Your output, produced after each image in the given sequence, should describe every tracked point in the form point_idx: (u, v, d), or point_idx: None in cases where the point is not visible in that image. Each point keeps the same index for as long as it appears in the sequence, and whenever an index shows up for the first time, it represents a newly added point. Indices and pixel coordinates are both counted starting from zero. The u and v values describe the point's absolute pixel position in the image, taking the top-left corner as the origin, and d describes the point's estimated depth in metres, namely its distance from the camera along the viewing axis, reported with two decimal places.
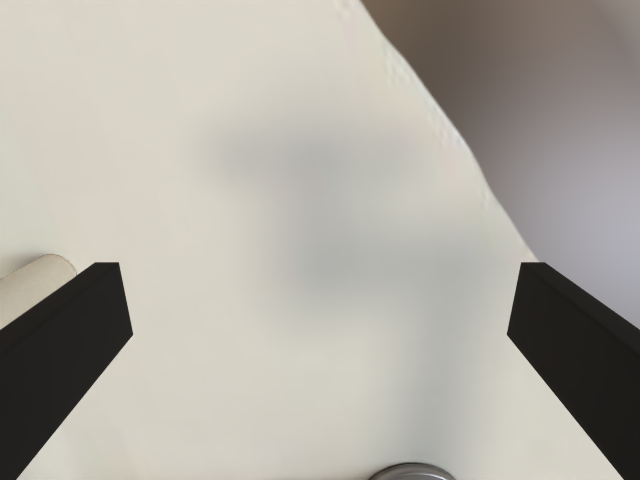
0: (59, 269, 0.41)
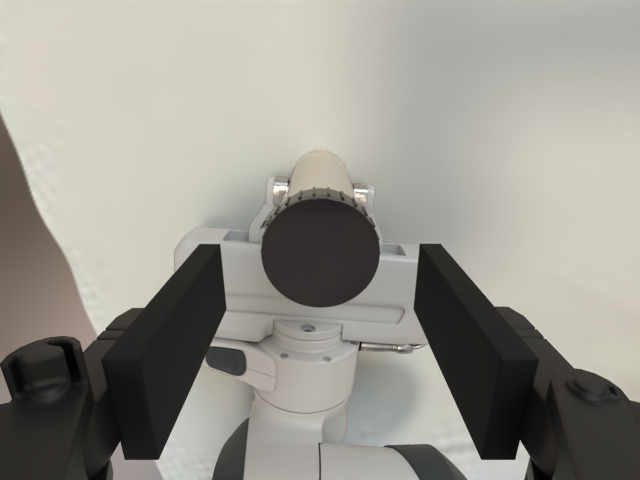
0: (317, 153, 0.30)
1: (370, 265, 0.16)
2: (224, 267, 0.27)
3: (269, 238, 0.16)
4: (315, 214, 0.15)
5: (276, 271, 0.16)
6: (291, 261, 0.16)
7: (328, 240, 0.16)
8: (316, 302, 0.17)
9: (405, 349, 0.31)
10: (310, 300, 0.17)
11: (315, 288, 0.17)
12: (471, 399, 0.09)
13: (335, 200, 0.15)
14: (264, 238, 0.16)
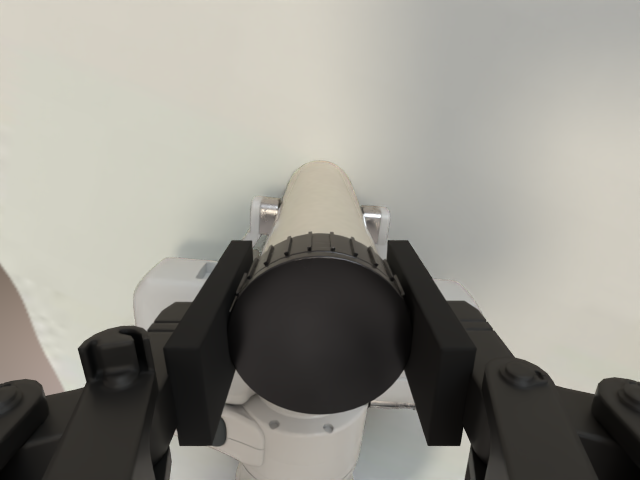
0: (317, 164, 0.25)
1: (397, 356, 0.10)
2: None
3: (239, 317, 0.10)
4: (311, 282, 0.10)
5: (251, 364, 0.10)
6: (275, 351, 0.10)
7: (332, 320, 0.10)
8: (313, 407, 0.11)
9: None
10: (304, 404, 0.11)
11: (312, 388, 0.11)
12: (421, 389, 0.09)
13: (344, 260, 0.09)
14: (231, 317, 0.10)
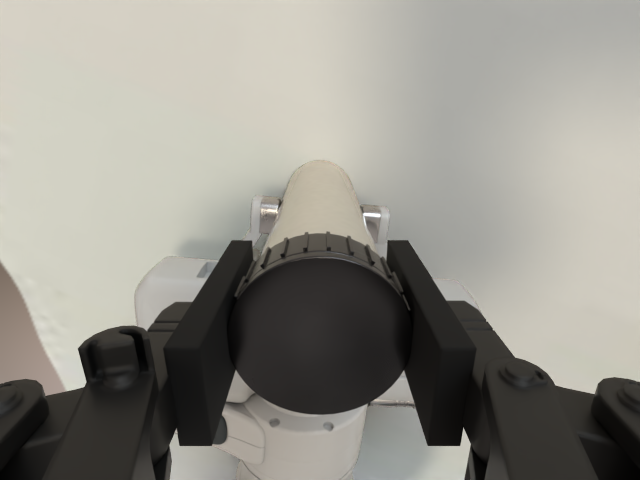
0: (317, 164, 0.25)
1: (302, 270, 0.09)
2: None
3: (324, 408, 0.11)
4: (262, 370, 0.11)
5: (370, 386, 0.11)
6: (346, 373, 0.11)
7: (291, 341, 0.10)
8: (400, 319, 0.10)
9: None
10: (400, 328, 0.10)
11: (376, 329, 0.10)
12: (421, 389, 0.09)
13: (230, 354, 0.10)
14: (327, 413, 0.11)
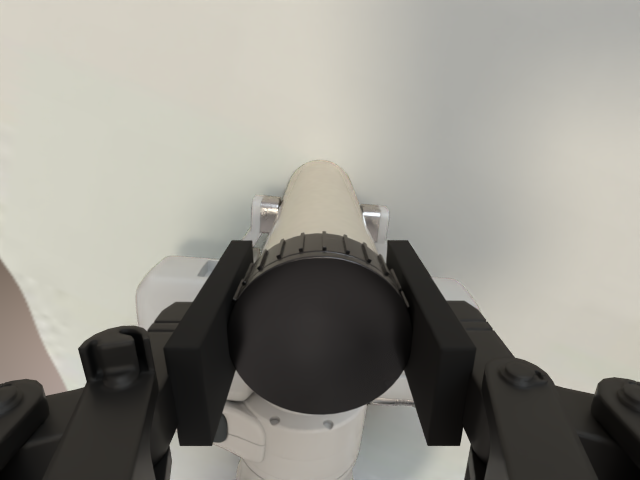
0: (317, 164, 0.25)
1: (256, 380, 0.11)
2: None
3: (397, 310, 0.10)
4: (372, 376, 0.11)
5: (350, 280, 0.10)
6: (344, 307, 0.10)
7: (329, 364, 0.10)
8: (260, 287, 0.10)
9: None
10: (270, 282, 0.10)
11: (282, 302, 0.10)
12: (421, 389, 0.09)
13: (365, 403, 0.11)
14: (403, 304, 0.10)
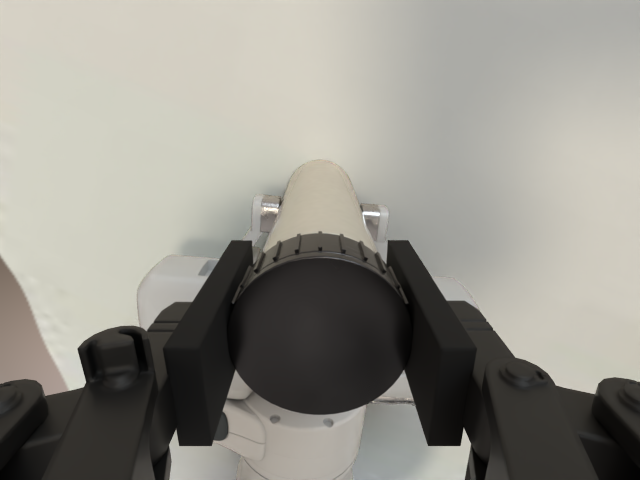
0: (317, 164, 0.25)
1: (385, 378, 0.11)
2: None
3: (252, 294, 0.10)
4: (337, 283, 0.10)
5: (244, 343, 0.10)
6: (273, 337, 0.10)
7: (340, 325, 0.10)
8: (287, 402, 0.11)
9: None
10: (279, 397, 0.11)
11: (293, 384, 0.11)
12: (421, 389, 0.09)
13: (375, 273, 0.10)
14: (244, 291, 0.10)
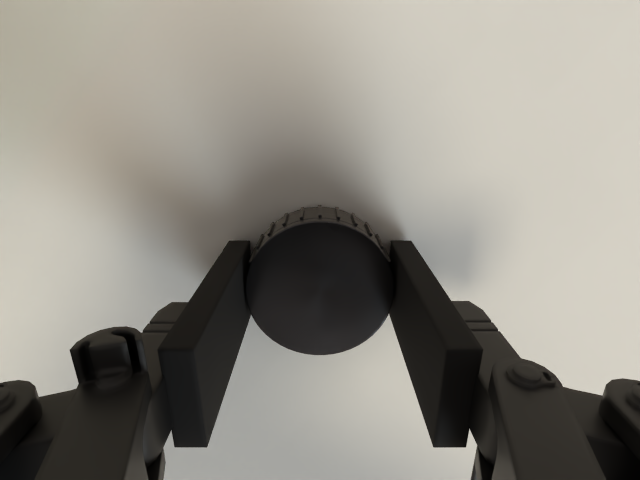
0: None
1: (373, 322, 0.13)
2: None
3: (266, 252, 0.12)
4: (333, 243, 0.12)
5: (259, 293, 0.13)
6: (282, 288, 0.13)
7: (336, 278, 0.13)
8: (293, 344, 0.13)
9: None
10: (287, 339, 0.13)
11: (298, 328, 0.13)
12: (426, 390, 0.09)
13: (363, 235, 0.12)
14: (260, 250, 0.12)
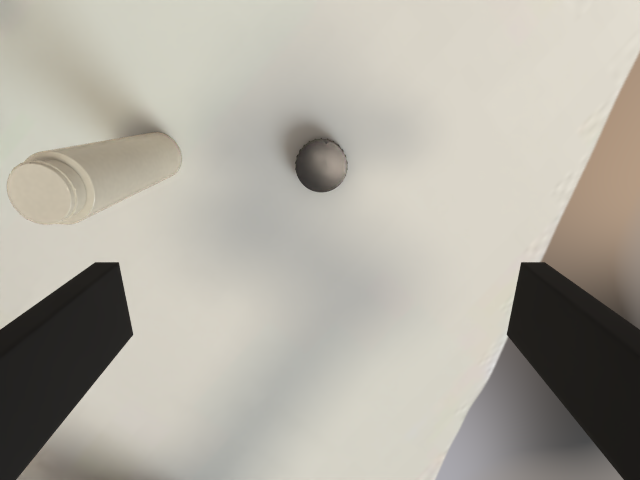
0: (174, 166, 0.37)
1: (340, 178, 0.37)
2: None
3: (303, 151, 0.37)
4: (325, 148, 0.36)
5: (300, 167, 0.37)
6: (308, 165, 0.37)
7: (327, 161, 0.37)
8: (312, 187, 0.38)
9: None
10: (309, 185, 0.38)
11: (314, 180, 0.38)
12: None
13: (335, 145, 0.36)
14: (301, 151, 0.37)
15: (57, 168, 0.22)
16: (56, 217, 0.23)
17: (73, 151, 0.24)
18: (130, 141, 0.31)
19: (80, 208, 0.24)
